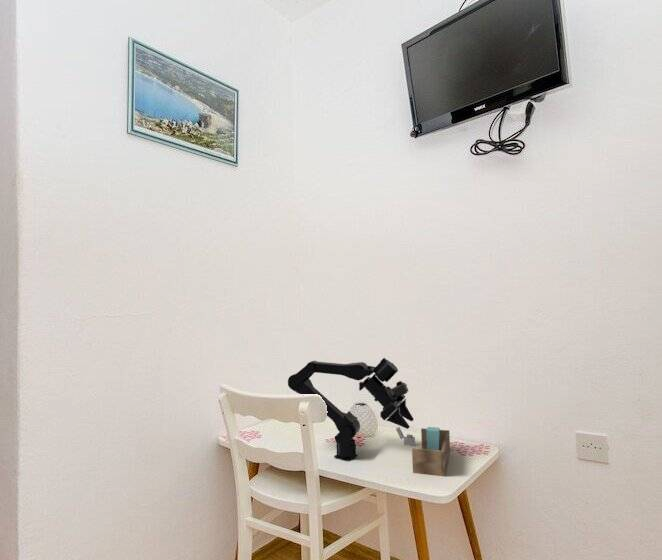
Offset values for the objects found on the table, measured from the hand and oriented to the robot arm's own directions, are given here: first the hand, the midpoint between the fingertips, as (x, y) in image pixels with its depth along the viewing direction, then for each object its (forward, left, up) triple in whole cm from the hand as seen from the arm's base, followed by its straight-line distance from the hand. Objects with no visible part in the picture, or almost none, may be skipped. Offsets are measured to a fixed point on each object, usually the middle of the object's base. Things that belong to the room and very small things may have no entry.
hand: (410, 424), depth 147 cm
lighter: (-9, +12, -14) cm, 21 cm away
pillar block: (+7, +2, -12) cm, 14 cm away
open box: (+7, +2, -14) cm, 16 cm away
